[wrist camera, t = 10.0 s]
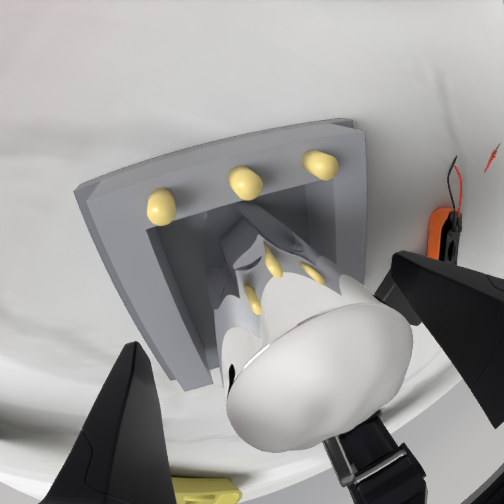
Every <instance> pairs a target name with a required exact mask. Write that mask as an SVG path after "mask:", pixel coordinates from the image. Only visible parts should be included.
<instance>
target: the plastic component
mask: <svg viewBox="0 0 504 504" xmlns="http://www.w3.org/2000/svg"><path fill="white" fill-rule="evenodd" d="M171 478H172V483H173V488H174V492H175V497H176V501H177V504H237V503H238V502H239V500H240V499H241V497H242V492H241V491H240V490H239V489H238V488H237V487H236V486H235V485H234V484H233V483H232V482H231V481H230V480H229V479H227V478H176V477H171Z"/></svg>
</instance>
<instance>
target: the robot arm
mask: <svg viewBox="0 0 504 504" xmlns="http://www.w3.org/2000/svg"><path fill="white" fill-rule="evenodd" d="M390 273H391V277H392V279H393V281H394V282H395V284H396V285H397V287H398V288H399V290H400V291H401V293H402V294H403V296H404V297H405V299H406V300H407V302H408V304H409V305H410V307H411V308H412V309H413V311H414V312H415V313H416V315H417V316H418V317H419V319H420V320H421V321H422V322H423V324H424V325H425V326H426V328H427V329H428V330H429V332H430V333H431V334H432V336H433V337H434V338H435V340H436V341H437V342H438V344H439V345H440V346H441V348H442V349H443V351H444V352H445V353H446V355H447V356H448V358H449V359H450V360H451V362H452V363H453V365H454V366H455V368H456V369H457V370H458V372H459V373H460V375H461V376H462V378H463V379H464V381H465V382H466V384H467V385H468V387H469V388H470V389H471V392H472V393H473V395H474V396H475V398H476V399H477V401H478V403H479V404H480V406H481V407H482V409H483V411H484V412H485V414H486V415H487V417H488V419H489V421H490V422H491V424H492V425H493V427H494V428H495V429H496V428H497V427H498V426H500V425H501V424H502V423H503V422H504V279H501V278H497V277H494V276H491V275H487V274H486V275H485V274H484V273H481V272H477V271H474V270H471V269H467V268H464V267H460V266H457V265H454V264H450V263H447V262H443V261H440V260H436V259H432V258H429V257H425V256H422V255H418V254H414V253H411V252H407V251H399V252H397V253H395V254H393V256H392V263H391V272H390ZM381 414H382V413H381V411H378V412H376V413H374V414H373V415H372V416H370V417H369V418H368V419H366V420H365V421H363V422H362V423H360V424H358V425H357V426H355V427H354V428H353V429H352V430H350V431H348V432H346V433H342V434H339V435H337V436H338V438H339V440H340V443H341V445H342V447H343V450H344V452H345V454H346V457H347V459H348V461H349V464H350V466H351V468H352V471H353V473H354V476H355V478H356V481H355V482H354V483H352V484H350V485H347V487H348V489H349V491H350V494H351V496H352V499H353V501H354V504H427V495H428V490H427V486H426V482H425V480H424V479H423V478H424V477H425V476H426V474H425V472H424V470H423V468H422V466H421V465H420V463H419V462H418V461H417V459H416V458H415V457H414V455H413V454H412V453H411V451H410V450H409V449H408V448H407V446H406V445H405V443H402V444H401V446H399V447H398V445H397V444H396V442H395V441H394V439H393V438H392V436H391V435H390V433H389V432H388V430H387V429H386V427H385V426H384V424H383V423H382V421H381V420H380V416H381ZM82 430H83V431H82ZM82 430H81V431H80V433H79V435H78V438H77V440H76V442H75V444H74V446H73V448H72V450H71V452H70V454H69V456H68V458H67V459H66V461H65V463H64V465H63V467H62V468H61V470H60V472H59V474H58V476H57V477H56V479H55V481H54V483H53V484H52V486H51V488H50V490H49V492H48V493H47V495H46V496H45V498H44V499H43V500H42V501H41V502H40V503H38V504H177V501H176V497H175V492H174V488H173V483H172V478H171V473H170V467H169V462H168V456H167V450H166V444H165V438H164V431H163V424H162V417H161V409H160V403H159V399H158V394H157V390H156V386H155V381H154V377H153V372H152V367H151V363H150V360H149V357H148V356H147V354H146V353H145V351H144V350H143V348H142V346H141V345H140V343H139V342H137V341H134V342H131V343H127V344H125V346H124V347H123V349H122V351H121V353H120V355H119V357H118V358H117V360H116V362H115V364H114V366H113V368H112V370H111V371H110V373H109V375H108V377H107V379H106V381H105V383H104V385H103V387H102V389H101V391H100V393H99V395H98V397H97V399H96V401H95V403H94V405H93V407H92V409H91V411H90V413H89V415H88V417H87V419H86V421H85V423H84V425H83V427H82ZM402 453H403V455H404V456H401V457H399V458H398V459H396V460H395V461H393V462H392V463H390V464H389V465H387V466H385V467H384V468H382V469H381V470H379V471H377V472H376V473H374V474H372V475H370V476H368V477H367V478H365V479H363V480H361V481H360V482H359V483H358V482H357V480H359V479H361V478H363V477H365V476H366V475H368V474H370V473H372V472H373V471H375V470H377V469H378V468H380V467H382V466H383V465H385V464H387V463H388V462H390V461H391V460H393V459H394V458H396V457H397V456H399V455H401V454H402ZM461 504H504V463H503V464H502V466H500V467H499V469H498V470H497V471H496V472H495V473H494V474H493V475H492V476H491V477H490V478H489V479H488V480H487V481H486V482H485V483H483V484H482V485H481V486H480V487H479V488H478V489H477V490H476V491H475V492H474V493H473V494H471V495H470V496H469V497H468V498H467V499H466V500H465V501H463V502H462V503H461Z"/></svg>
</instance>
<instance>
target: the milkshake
mask: <svg viewBox="0 0 504 504" xmlns="http://www.w3.org/2000/svg"><path fill="white" fill-rule="evenodd" d="M200 243H201V249H202V256H203V262H204V268H205V274H206V280H207V286H208V292H209V298H210V304H211V310H212V317H213V324H214V332H215V339H216V346H217V353H218V359H219V366H220V372H221V378H222V384H223V390H224V396H225V402H226V407H227V415H228V418H229V420H230V422H231V425H232V426H233V428H234V430H235V431H236V433H237V434H238V435H239V436H240V437H241V438H242V439H243V440H244V441H245V442H246V443H248V444H250V445H251V446H253V447H255V448H257V449H259V450H261V451H265V452H272V453H280V452H285V451H288V450H304V449H308V448H311V447H313V446H315V445H317V444H319V443H321V442H322V443H323V445H324V447H325V450H326V452H327V454H328V457H329V459H330V461H331V464H332V466H333V468H334V471H335V473H336V475H337V478H338V480H339V482H340V484H341V486H342V487H345V486H347V485H350V484H352V483H354V482H355V481H356V478H355V476H354V473H353V471H352V468H351V466H350V464H349V461H348V459H347V457H346V454H345V452H344V450H343V447H342V445H341V443H340V440H339V438H338V436H337V435H339V434H342V433H346V432H348V431H350V430H352V429H353V428H354V427H355V426H357V425H358V424H360V423H362V422H363V421H365V420H366V419H368V418H369V417H370V416H372V415H373V414H374V413H375V412H376V411H377V410H378V409H380V408H381V407H382V406H383V405H385V404H386V403H388V402H389V401H391V400H392V399H393V398H394V397H395V396H396V395H397V393H398V392H399V390H400V388H401V386H402V383H403V380H404V377H405V374H406V371H407V368H408V366H409V363H410V359H411V354H412V349H413V334H412V329H411V327H410V324H409V323H408V321H407V320H406V319H405V317H404V316H403V315H402V314H400V313H399V312H397V311H396V310H394V309H393V308H392V307H391V306H389V305H388V304H387V303H386V302H384V301H383V300H382V299H381V298H379V297H378V296H377V295H375V294H374V293H373V292H372V291H370V290H369V289H368V288H366V287H365V286H364V285H362V284H361V283H360V282H359V281H357V280H356V279H355V278H353V277H352V276H351V275H349V274H348V273H347V272H345V271H344V270H343V269H341V268H340V267H339V266H337V265H336V264H335V263H333V262H332V261H330V260H329V259H328V258H326V257H325V256H323V255H322V254H321V253H319V252H318V251H317V250H315V249H314V248H313V247H311V246H310V245H309V244H307V243H306V242H305V241H304V240H302V239H301V238H300V237H299V236H297V235H296V234H295V233H294V232H292V231H291V230H290V229H289V228H287V227H286V226H285V225H284V224H282V223H281V222H280V221H278V220H277V219H276V218H275V217H273V216H272V215H271V214H270V213H268V212H267V211H266V210H264V209H263V208H262V207H261V206H259V205H258V204H257V203H255V202H235V203H232V204H228V205H225V206H222V207H220V208H219V209H217V210H216V211H214V212H212V213H211V214H209V216H208V219H207V221H206V223H205V225H204V228H203V230H202V232H201V234H200Z"/></svg>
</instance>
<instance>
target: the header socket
mask: <svg viewBox="0 0 504 504" xmlns="http://www.w3.org/2000/svg"><path fill="white" fill-rule="evenodd" d="M73 192H74V195H75V197H76V200H77V203H78V205H79V208H80V210H81V213H82V215H83V218H84V220H85V223H86V225H87V228H88V230H89V232H90V235H91V237H92V239H93V242H94V244H95V246H96V248H97V250H98V253H99V255H100V257H101V259H102V261H103V263H104V265H105V268H106V270H107V272H108V274H109V276H110V278H111V280H112V282H113V284H114V286H115V288H116V290H117V292H118V293H119V295H120V297H121V299H122V301H123V303H124V305H125V307H126V308H127V310H128V312H129V314H130V316H131V317H132V319H133V321H134V323H135V324H136V326H137V328H138V330H139V331H140V333H141V335H142V336H143V338H144V340H145V341H146V343H147V345H148V346H149V348H150V350H151V351H152V353H153V354H154V356H155V358H156V359H157V361H158V362H159V364H160V365H161V367H162V368H163V370H164V372H165V373H166V375H167V376H168V378H169V379H170V380H175V379H177V381H178V382H179V384H180V385H181V387H182V388H183V390H184V391H189V390H192V389H196V388H200V387H203V386H207V385H210V384H213V381H212V377H211V373H210V370H211V369H214V368H217V367H220V366H219V359H218V353H217V346H216V339H215V332H214V324H213V317H212V310H211V304H210V298H209V292H208V286H207V280H206V274H205V268H204V262H203V256H202V249H201V243H200V234H201V232H202V230H203V228H204V225H205V223H206V221H207V219H208V216H209V214H211V213H212V212H214V211H216V210H217V209H219V208H220V207H222V206H225V205H228V204H232V203H235V202H255V203H257V204H258V205H259V206H261V207H262V208H263V209H264V210H266V211H267V212H268V213H270V214H271V215H272V216H273V217H275V218H276V219H277V220H278V221H280V222H281V223H282V224H284V225H285V226H286V227H287V228H289V229H290V230H291V231H292V232H294V233H295V234H296V235H297V236H299V237H300V238H301V239H302V240H304V241H305V242H306V243H307V244H309V245H310V246H311V247H313V248H314V249H315V250H317V251H318V252H319V253H321V254H322V255H323V256H325V257H326V258H328V259H329V260H330V261H332V262H333V263H335V264H336V265H337V266H339V267H340V268H341V269H343V270H344V271H345V272H347V273H348V274H349V275H351V276H352V277H353V278H355V279H356V280H357V281H359V282H360V283H361V284H362V285H364V272H365V256H366V231H367V171H366V147H365V131H362V130H358V129H353V120H348V119H342V118H338V119H330V120H322V121H315V122H308V123H302V124H295V125H289V126H284V127H278V128H272V129H267V130H262V131H257V132H252V133H247V134H243V135H238V136H234V137H229V138H225V139H221V140H217V141H213V142H209V143H205V144H201V145H197V146H194V147H190V148H186V149H183V150H179V151H176V152H172V153H169V154H165V155H162V156H159V157H156V158H152V159H149V160H146V161H143V162H140V163H137V164H134V165H131V166H128V167H125V168H122V169H120V170H117V171H114V172H111V173H109V174H106V175H103V176H100V177H98V178H95V179H93V180H90V181H88V182H85V183H83V184H80V185H79V186H78V187H77V188H76V189H75V190H74V191H73Z"/></svg>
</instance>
